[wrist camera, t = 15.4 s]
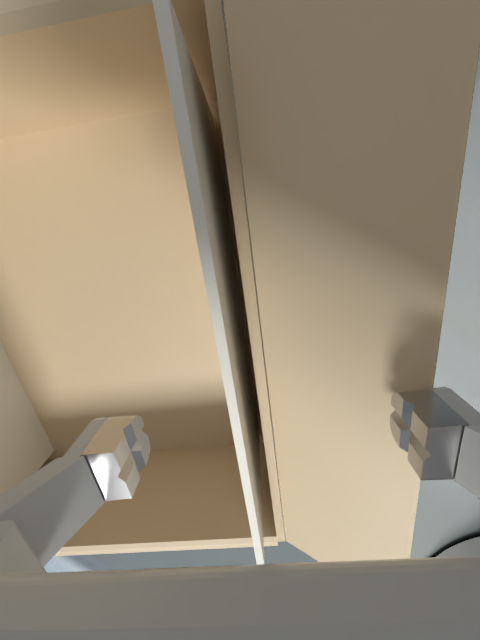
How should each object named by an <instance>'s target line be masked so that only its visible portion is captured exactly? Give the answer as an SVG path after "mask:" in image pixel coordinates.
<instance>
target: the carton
mask: <svg viewBox="0 0 480 640" xmlns="http://www.w3.org/2000/svg"><path fill="white" fill-rule="evenodd" d="M134 415H138V416H141V417H142V420H143V422H144V427H143V429H142V431H143V432H144V433H146V434H147V435H148V438H149V441H150V454H149V459H148V461H147V464H146V466H145V467H144V468H143V469H142V470H140V471H139V475H140V480H139V483H138V485H137V487H136V490H135V492H134V494H133V497H132V499H121V500H111V501H104V502H105V503H104V504H103V505H102V506H101V507H100V508H99V509H98V510H97V511H96V512H95V513H94V514H93V515H92V517H91V518H90V519H89V520H88V521H87V522H86V523H85V524H84V525H83V526H82V527H81V528H80V529H79V530H78V531H77V532H76V533H75V534H74V535H73V536H72V537H71V538H70V539H69V541H68V542H67V543H66V544H65V545H64V546H63V547H62V548H61V549H60V550H59V551H58V552H57V553H56V554H55V555H54V556H67V555H89V554H110V553H131V552H152V551H174V550H195V549H216V548H238V547H254V552H255V557H256V562H257V565H259V564H264V546H278V542H279V541H285V534H284V525H283V516H282V506H281V497H280V488H279V479H278V470H277V461H276V452H275V443H274V434H273V426H272V417H271V409H270V400H269V392H268V383H267V375H266V366H265V358H264V349H263V341H262V332H261V324H260V315H259V307H258V298H257V290H256V281H255V273H254V264H253V256H252V247H251V239H250V230H249V221H248V213H247V204H246V196H245V187H244V179H243V170H242V162H241V153H240V145H239V136H238V128H237V119H236V111H235V102H234V94H233V86H232V78H231V71H230V63H229V55H228V48H227V40H226V32H225V25H224V17H223V9H222V2H221V0H0V495H1V494H3V493H4V492H6V491H7V490H9V489H10V488H12V487H13V486H15V485H16V484H18V483H20V482H21V481H23V480H24V479H26V478H27V477H29V476H30V475H32V474H33V473H35V472H36V471H38V470H40V469H41V468H43V467H44V466H46V465H47V464H49V463H50V462H52V461H53V460H55V459H56V458H60V457H63V456H64V455H65V453H66V452H67V451H68V450H69V448H70V447H71V446H72V445H73V443H74V442H75V441H76V440H77V438H78V437H79V436H80V435H81V433H82V432H83V431H84V430H85V428H86V427H87V426H88V425H89V423H90V422H91V421H92V420H94V419H96V418H106V417H118V416H134Z"/></svg>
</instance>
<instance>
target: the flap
mask: <svg viewBox="0 0 480 640" xmlns="http://www.w3.org/2000/svg"><path fill="white" fill-rule="evenodd" d="M223 6H224V14H225V23H226V32H227V40H228V49H229V57H230V66H231V74H232V83H233V91H234V100H235V108H236V117H237V125H238V134H239V142H240V151H241V159H242V168H243V177H244V185H245V194H246V202H247V211H248V219H249V228H250V236H251V245H252V253H253V262H254V270H255V279H256V287H257V296H258V304H259V313H260V322H261V330H262V339H263V347H264V356H265V364H266V373H267V381H268V390H269V398H270V407H271V415H272V424H273V432H274V441H275V449H276V458H277V467H278V475H279V484H280V492H281V501H282V509H283V518H284V526H285V535H286V541H287V542H289V543H290V544H292V545H294V546H295V547H297V548H298V549H300V550H302V551H303V552H305V553H306V554H308V555H309V556H311V557H313V558H314V559H316V560H317V561H319V562H333V561H358V560H382V559H406V558H410V552H411V545H412V538H413V531H414V523H415V516H416V509H417V501H418V494H419V487H420V478H419V477H418V475H417V474H416V472H415V471H414V469H413V467H412V466H411V464H410V463H409V461H408V460H407V459H408V452H406V451H405V450H403V449H401V448H400V447H399V446H398V445H397V443H396V441H395V440H394V437H393V435H392V432H391V428H390V415H391V414H392V412H393V411H394V410H395V409H394V407H393V406H392V405H391V397H392V394H393V393H394V392H405V391H415V390H427V389H430V388H433V385H434V377H435V370H436V363H437V356H438V348H439V341H440V334H441V326H442V319H443V312H444V304H445V297H446V290H447V283H448V275H449V268H450V261H451V253H452V246H453V239H454V232H455V224H456V217H457V210H458V202H459V195H460V188H461V180H462V173H463V166H464V159H465V151H466V144H467V137H468V129H469V122H470V115H471V108H472V100H473V93H474V86H475V78H476V71H477V64H478V56H479V49H480V0H223Z"/></svg>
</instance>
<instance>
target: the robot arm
mask: <svg viewBox="0 0 480 640" xmlns="http://www.w3.org/2000/svg"><path fill="white" fill-rule="evenodd" d="M391 405H392V406H393V407H394V409H395V410H394V411H393V412H392V414H391V415H390V428H391V432H392V435H393V437H394V440H395V441H396V443H397V445H398V446H399V447H400V448H401V449H403V450H405V451H406V452H408V459H407V460H408V461H409V463H410V464H411V466H412V467H413V469H414V471H415V472H416V474H417V475H418V477H419V478H420V480H446V479H455V480H454V481H455V482H457V483H458V484H459V485H461V486H462V487H464V488H465V489H466V490H468V491H469V492H471V493H472V494H473V495H475V496H476V497H478V498H479V499H480V413H479V412H478V411H476V410H475V409H474V408H473V407H472V406H470V405H469V404H468V403H467V402H466V401H464V400H463V399H462V398H461V397H460V396H458V395H457V394H456V393H455V392H454V391H453V390H451V389H450V388H447V387H439V388H430V389H427V390H415V391H405V392H394V393H393V394H392V397H391ZM143 427H144V422H143V420H142V417H141V416H138V415H134V416H118V417H106V418H96V419H94V420H92V421H91V422H90V423H89V425H88V426H87V427H86V428H85V430H84V431H83V432H82V433H81V435H80V436H79V437H78V438H77V440H76V441H75V442H74V443H73V445H72V446H71V447H70V448H69V450H68V451H67V452H66V453H65V455H64V456H63V457H60V458H56V459H55V460H53V461H52V462H50V463H49V464H47V465H46V466H44V467H43V468H41V469H40V470H38V471H36V472H35V473H33V474H32V475H30V476H29V477H27V478H26V479H24V480H23V481H21V482H20V483H18V484H16V485H15V486H13V487H12V488H10V489H9V490H7V491H6V492H4V493H3V494H1V495H0V640H480V537H476V538H473V539H469V540H466V541H464V542H461V543H459V544H456V545H454V546H452V547H450V548H448V549H447V550H445V551H443V552H442V553H440V554H439V555H438V556H436V557H430V558H406V559H382V560H358V561H333V562H309V563H285V564H259V565H234V566H208V567H183V568H158V569H133V570H108V571H83V572H58V573H47V572H46V571H45V569H44V566H45V565H46V564H47V562H48V561H49V560H50V559H51V558H52V557H53V556H54V555H55V554H56V553H57V552H58V551H59V550H60V549H61V548H62V547H63V546H64V545H65V544H66V543H67V542H68V541H69V539H70V538H71V537H72V536H73V535H74V534H75V533H76V532H77V531H78V530H79V529H80V528H81V527H82V526H83V525H84V524H85V523H86V522H87V521H88V520H89V519H90V518H91V517H92V515H93V514H94V513H95V512H96V511H97V510H98V509H99V508H100V507H101V506H102V505H103V504H104V503H105V502H104V501H111V500H121V499H132V497H133V494H134V492H135V490H136V487H137V485H138V483H139V480H140V475H139V471H140V470H142V469H143V468H144V467H145V466H146V464H147V461H148V459H149V454H150V441H149V438H148V435H147V434H146V433H144V432H143V431H142V429H143Z"/></svg>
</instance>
